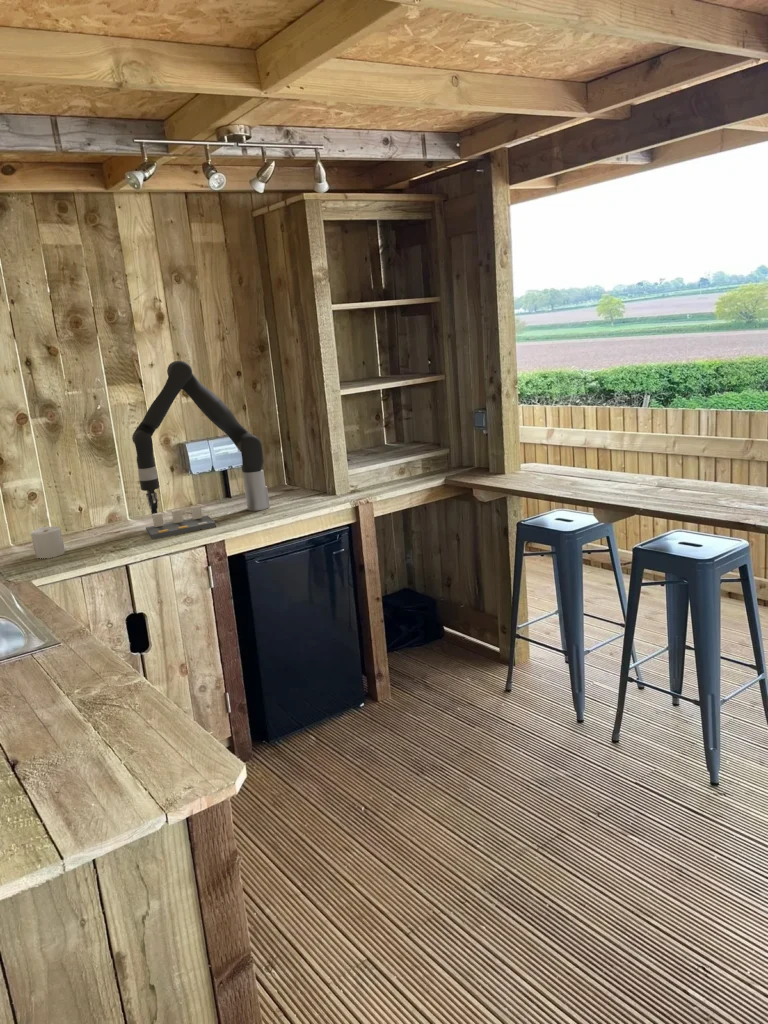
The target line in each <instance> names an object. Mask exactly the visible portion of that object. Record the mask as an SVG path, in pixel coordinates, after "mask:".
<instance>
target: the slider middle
mask: <svg viewBox="0 0 768 1024" xmlns="http://www.w3.org/2000/svg"><path fill="white" fill-rule="evenodd" d="M171 515H172V516H171V517H172V522H174V523H179V522H183V520H184V517H183V516H184V515H183V511H182V509H181V508H177V509H172V510H171Z"/></svg>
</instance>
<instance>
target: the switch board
mask: <svg viewBox="0 0 768 1024" xmlns="http://www.w3.org/2000/svg"><path fill="white" fill-rule="evenodd" d="M215 526H216V527H217V524H216V521H214V519H213V518H211V517H210V516H209V515H202V518H200V519H195V520H194V519H193V518H192V517H191V518H188V519H187V518H186V519H183V522H179V523H174V522H173V521H171V522H165V523H164V526H159V527H155V526H154V525H150V526H146V527H145V531H146V533H147V535H148V536H149V538H151V540H156V539H161V538H166V537H172V536H178V535H182V534H186V532H187V533H192V532H191V531H193V532H196V530H198V531H201V530H200V529H203V530H207V529H206V528H208V529H211V528H210V527H213V528H216V527H215Z"/></svg>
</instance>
